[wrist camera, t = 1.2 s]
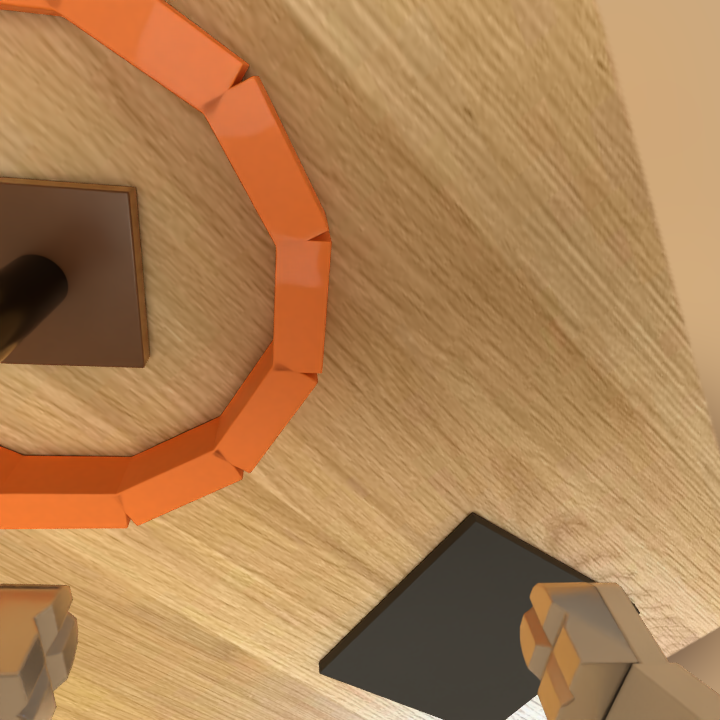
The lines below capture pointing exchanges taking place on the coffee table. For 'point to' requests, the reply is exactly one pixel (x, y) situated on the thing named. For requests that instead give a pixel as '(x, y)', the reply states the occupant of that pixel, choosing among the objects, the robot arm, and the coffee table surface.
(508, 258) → the coffee table surface
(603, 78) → the coffee table surface
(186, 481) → the hoop
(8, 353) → the post
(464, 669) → the mat
